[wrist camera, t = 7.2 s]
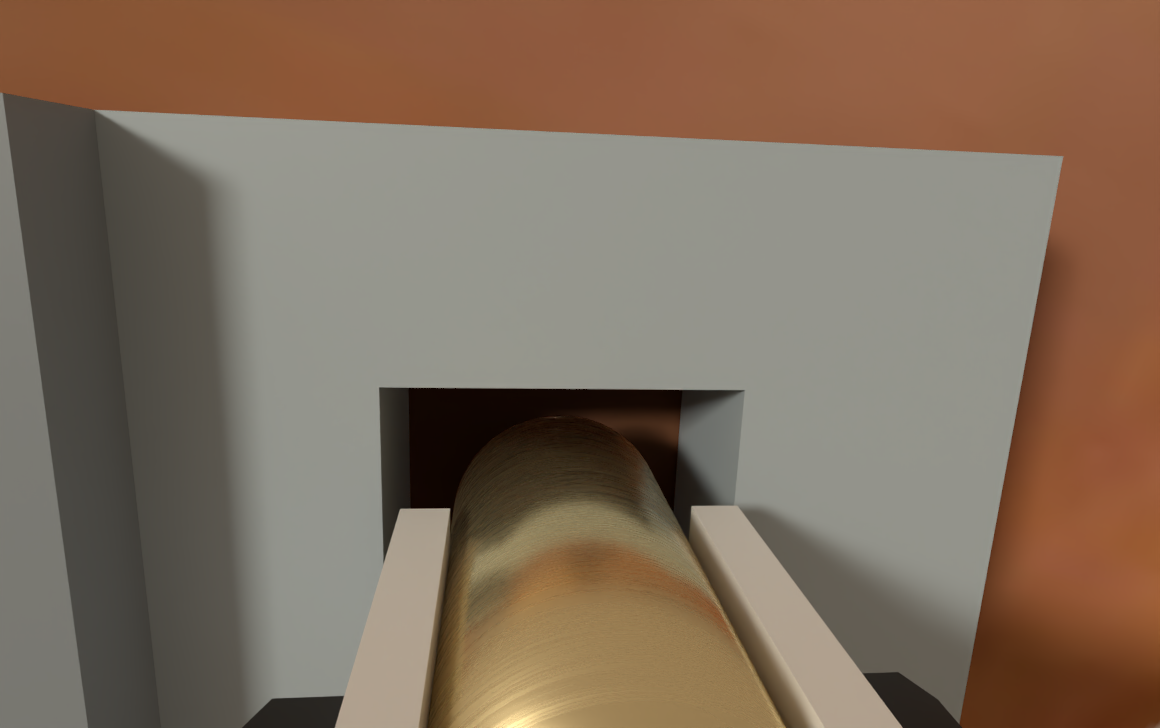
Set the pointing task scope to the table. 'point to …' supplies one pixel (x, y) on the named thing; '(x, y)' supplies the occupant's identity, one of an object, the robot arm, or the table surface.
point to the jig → (473, 375)
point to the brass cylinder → (581, 597)
